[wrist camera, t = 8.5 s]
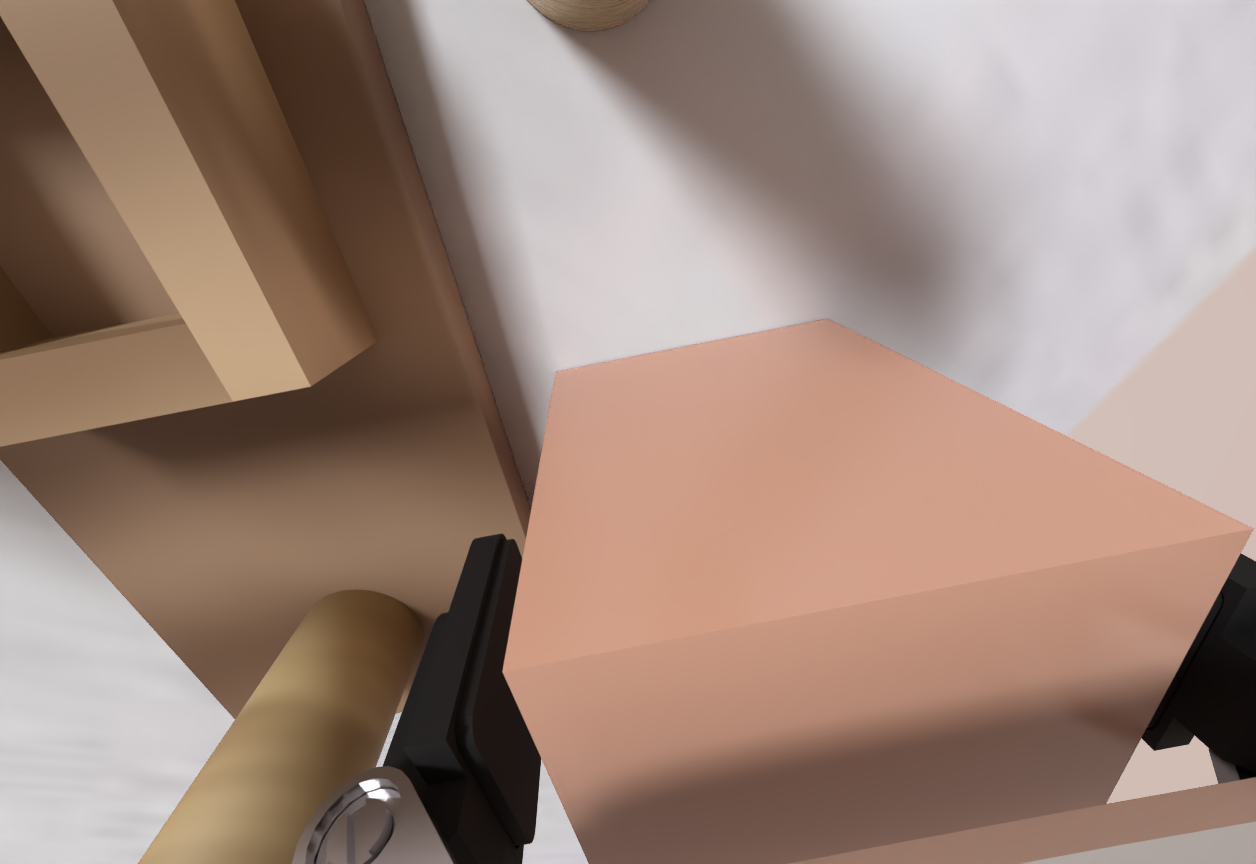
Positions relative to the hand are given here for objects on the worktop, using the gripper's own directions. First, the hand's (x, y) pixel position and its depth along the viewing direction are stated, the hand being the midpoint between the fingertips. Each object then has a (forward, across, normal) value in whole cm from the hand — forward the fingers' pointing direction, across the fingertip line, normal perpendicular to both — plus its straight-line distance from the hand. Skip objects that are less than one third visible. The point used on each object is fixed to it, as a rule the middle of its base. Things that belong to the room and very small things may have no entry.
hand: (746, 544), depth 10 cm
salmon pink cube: (+3, 0, 0) cm, 3 cm away
